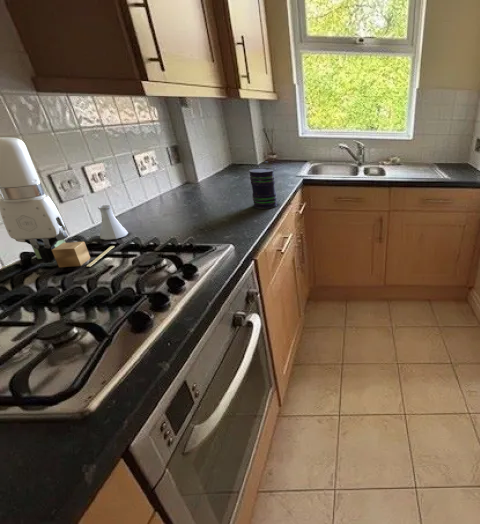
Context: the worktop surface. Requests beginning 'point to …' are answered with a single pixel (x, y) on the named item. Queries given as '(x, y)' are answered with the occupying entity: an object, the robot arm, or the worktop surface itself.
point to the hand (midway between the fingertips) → (51, 260)
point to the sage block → (55, 247)
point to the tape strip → (100, 256)
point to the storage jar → (263, 187)
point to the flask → (110, 224)
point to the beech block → (71, 254)
